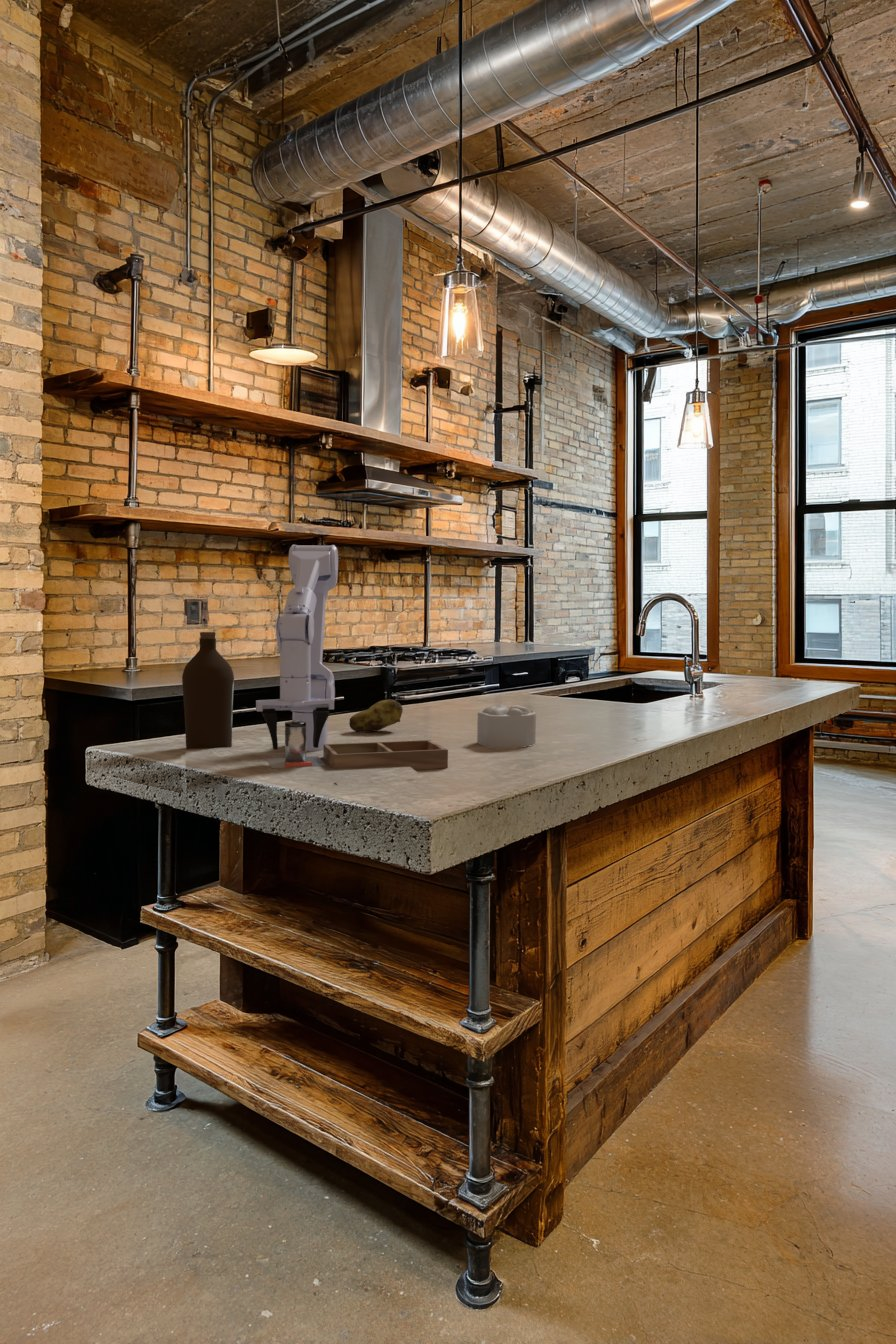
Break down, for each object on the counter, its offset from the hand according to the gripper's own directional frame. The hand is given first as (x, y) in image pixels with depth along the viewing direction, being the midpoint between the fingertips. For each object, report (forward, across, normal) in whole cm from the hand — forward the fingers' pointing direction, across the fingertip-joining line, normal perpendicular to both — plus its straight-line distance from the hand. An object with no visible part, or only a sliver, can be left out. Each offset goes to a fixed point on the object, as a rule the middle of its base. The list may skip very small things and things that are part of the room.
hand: (295, 747), depth 159 cm
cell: (+3, 0, 0) cm, 3 cm away
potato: (+4, +25, +40) cm, 47 cm away
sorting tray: (+4, +17, -2) cm, 18 cm away
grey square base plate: (+4, 0, 0) cm, 4 cm away
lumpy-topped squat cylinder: (+4, +50, +15) cm, 52 cm away
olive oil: (+4, -15, +25) cm, 29 cm away
